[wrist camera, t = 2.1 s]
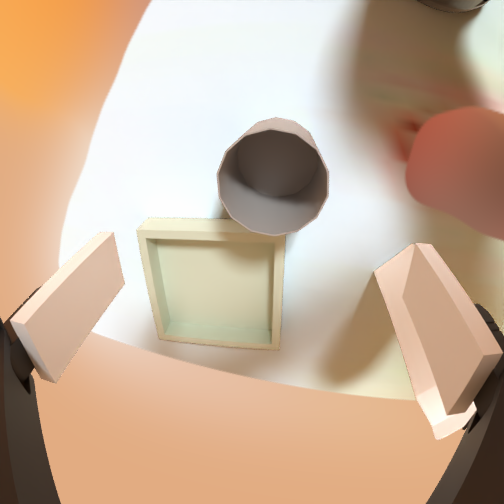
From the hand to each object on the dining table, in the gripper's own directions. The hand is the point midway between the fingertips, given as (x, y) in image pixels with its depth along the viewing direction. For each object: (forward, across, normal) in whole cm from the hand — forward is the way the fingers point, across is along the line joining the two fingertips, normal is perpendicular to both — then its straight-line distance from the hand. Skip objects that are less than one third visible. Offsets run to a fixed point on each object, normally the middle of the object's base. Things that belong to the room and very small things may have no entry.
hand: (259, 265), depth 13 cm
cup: (+22, 0, 0) cm, 22 cm away
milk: (+22, +16, -13) cm, 30 cm away
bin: (+22, -7, -15) cm, 27 cm away
